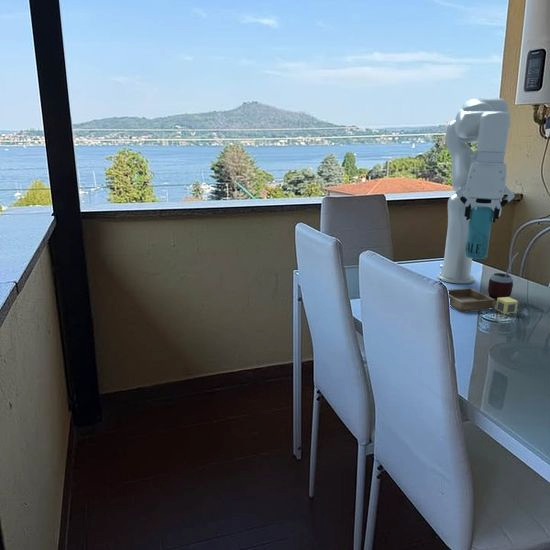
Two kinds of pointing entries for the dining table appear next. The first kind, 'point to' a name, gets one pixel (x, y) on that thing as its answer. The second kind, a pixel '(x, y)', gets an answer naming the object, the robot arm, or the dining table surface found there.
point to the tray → (469, 300)
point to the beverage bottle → (479, 230)
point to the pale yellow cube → (506, 305)
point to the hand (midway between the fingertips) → (480, 219)
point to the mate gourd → (501, 284)
